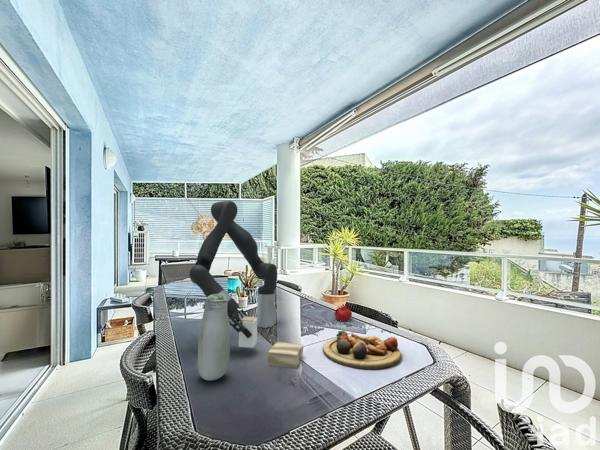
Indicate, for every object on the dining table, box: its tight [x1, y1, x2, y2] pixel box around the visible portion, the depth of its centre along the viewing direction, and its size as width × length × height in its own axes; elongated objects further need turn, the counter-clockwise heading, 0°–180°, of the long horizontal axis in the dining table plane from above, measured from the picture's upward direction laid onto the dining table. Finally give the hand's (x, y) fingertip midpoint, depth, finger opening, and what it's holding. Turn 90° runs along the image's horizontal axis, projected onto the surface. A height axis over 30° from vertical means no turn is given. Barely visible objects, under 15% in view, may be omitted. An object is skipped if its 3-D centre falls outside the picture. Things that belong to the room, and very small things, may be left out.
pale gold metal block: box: [267, 341, 304, 369], centre depth 113 cm, size 11×11×5 cm
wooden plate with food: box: [322, 330, 402, 370], centre depth 122 cm, size 32×32×8 cm
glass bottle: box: [197, 294, 232, 382], centre depth 98 cm, size 10×10×28 cm
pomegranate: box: [334, 303, 353, 322], centre depth 170 cm, size 10×10×9 cm
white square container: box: [238, 316, 258, 348], centre depth 119 cm, size 6×6×10 cm
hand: (252, 333), depth 119 cm, fingers closed on white square container, 6 cm apart
